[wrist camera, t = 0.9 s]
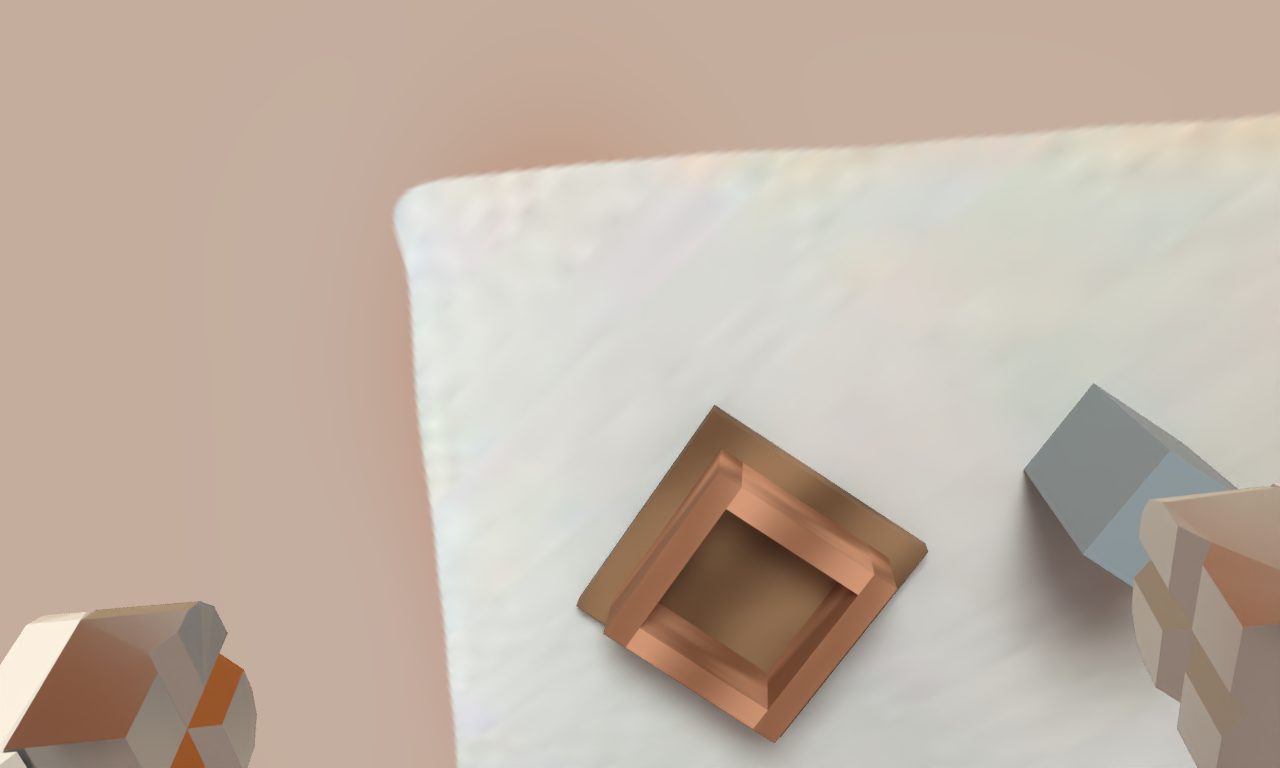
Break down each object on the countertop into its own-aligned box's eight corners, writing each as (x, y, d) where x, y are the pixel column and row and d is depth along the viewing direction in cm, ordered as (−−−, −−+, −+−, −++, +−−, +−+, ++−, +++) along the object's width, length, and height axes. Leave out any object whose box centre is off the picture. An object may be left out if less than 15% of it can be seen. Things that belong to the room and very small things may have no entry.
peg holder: (925, 543, 54) (939, 582, 50) (780, 726, 57) (781, 778, 53) (714, 404, 53) (710, 432, 49) (579, 597, 57) (564, 639, 52)
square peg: (1183, 443, 52) (1280, 524, 42) (1112, 528, 53) (1190, 625, 43) (1093, 383, 51) (1170, 450, 42) (1023, 469, 53) (1082, 554, 43)
